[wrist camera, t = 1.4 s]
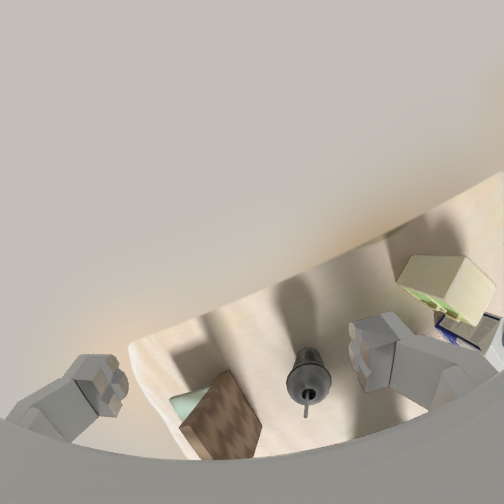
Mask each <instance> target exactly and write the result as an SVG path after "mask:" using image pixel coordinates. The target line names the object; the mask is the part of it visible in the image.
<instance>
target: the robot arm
mask: <svg viewBox="0 0 504 504" xmlns="http://www.w3.org/2000/svg"><path fill="white" fill-rule="evenodd" d="M349 335H350V337H351V339H352V340H351V342H350V343H349V356H350V361H351V364H352V367H353V369H354V371H356V372H358V373H359V377H358V380H359V382H360V384H361V386H362V388H363V390H364V392H365V393H367V392H371V391H374V390H378V389H381V388H384V387H388V386H389V387H390V388H392V389H393V390H395V391H397V392H398V393H400V394H402V395H403V396H405V397H407V398H408V399H410V400H412V401H413V402H415V403H417V404H419V405H420V406H422V407H424V408H426V409H427V410H429V411H428V412H427V413H425V414H423V415H421V416H418V417H416V418H414V419H411V420H409V421H406V422H404V423H401V424H398V425H396V426H393V427H390V428H388V429H385V430H382V431H379V432H376V433H373V434H370V435H367V436H363V437H360V438H357V439H353V440H350V441H346V442H342V443H338V444H334V445H330V446H326V447H321V448H316V449H312V450H306V451H301V452H295V453H289V454H283V455H275V456H267V457H258V458H247V459H232V460H174V459H173V460H172V459H159V458H149V457H140V456H132V455H125V454H119V453H113V452H107V451H102V450H97V449H93V448H88V447H84V446H80V445H76V444H72V443H71V442H72V441H73V440H74V439H75V438H76V437H77V436H79V435H80V434H81V433H82V432H83V431H84V430H85V429H86V428H87V427H89V426H90V425H91V424H92V423H93V422H94V421H95V420H96V419H97V418H98V417H99V416H104V417H117V415H118V413H119V411H120V409H121V407H122V403H121V400H122V399H124V398H125V397H126V396H127V393H128V389H129V383H128V380H127V377H126V375H125V373H124V372H122V371H121V370H120V369H119V362H118V360H117V359H116V357H115V356H113V355H107V354H82V355H79V356H78V357H77V359H76V360H75V361H74V363H73V364H72V365H71V366H70V368H69V369H68V370H67V372H66V373H65V374H64V376H63V377H62V378H61V379H60V378H59V379H57V380H55V381H54V382H52V383H50V384H48V385H47V386H45V387H43V388H41V389H40V390H38V391H36V392H35V393H33V394H31V395H29V396H27V397H26V398H24V399H22V400H21V401H19V402H18V403H17V404H16V405H15V407H14V408H13V409H12V411H11V412H10V413H9V415H8V416H7V418H6V419H5V420H4V419H2V418H0V504H504V369H503V370H502V371H501V372H498V371H497V370H496V369H495V368H494V367H493V366H492V365H491V364H490V362H489V361H488V360H487V359H486V358H485V357H484V356H483V355H482V354H481V353H480V352H478V351H475V350H471V349H468V348H464V347H461V346H457V345H454V344H450V343H447V342H444V341H440V340H437V339H434V338H430V337H427V336H424V335H420V334H418V335H414V333H413V332H412V331H411V330H410V329H409V328H408V327H407V326H406V325H405V323H404V322H403V321H402V320H401V319H400V318H399V317H398V316H397V315H396V314H395V313H394V312H393V311H389V312H385V313H382V314H379V315H377V316H373V317H370V318H366V319H362V320H359V321H355V322H351V323H350V324H349Z"/></svg>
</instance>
